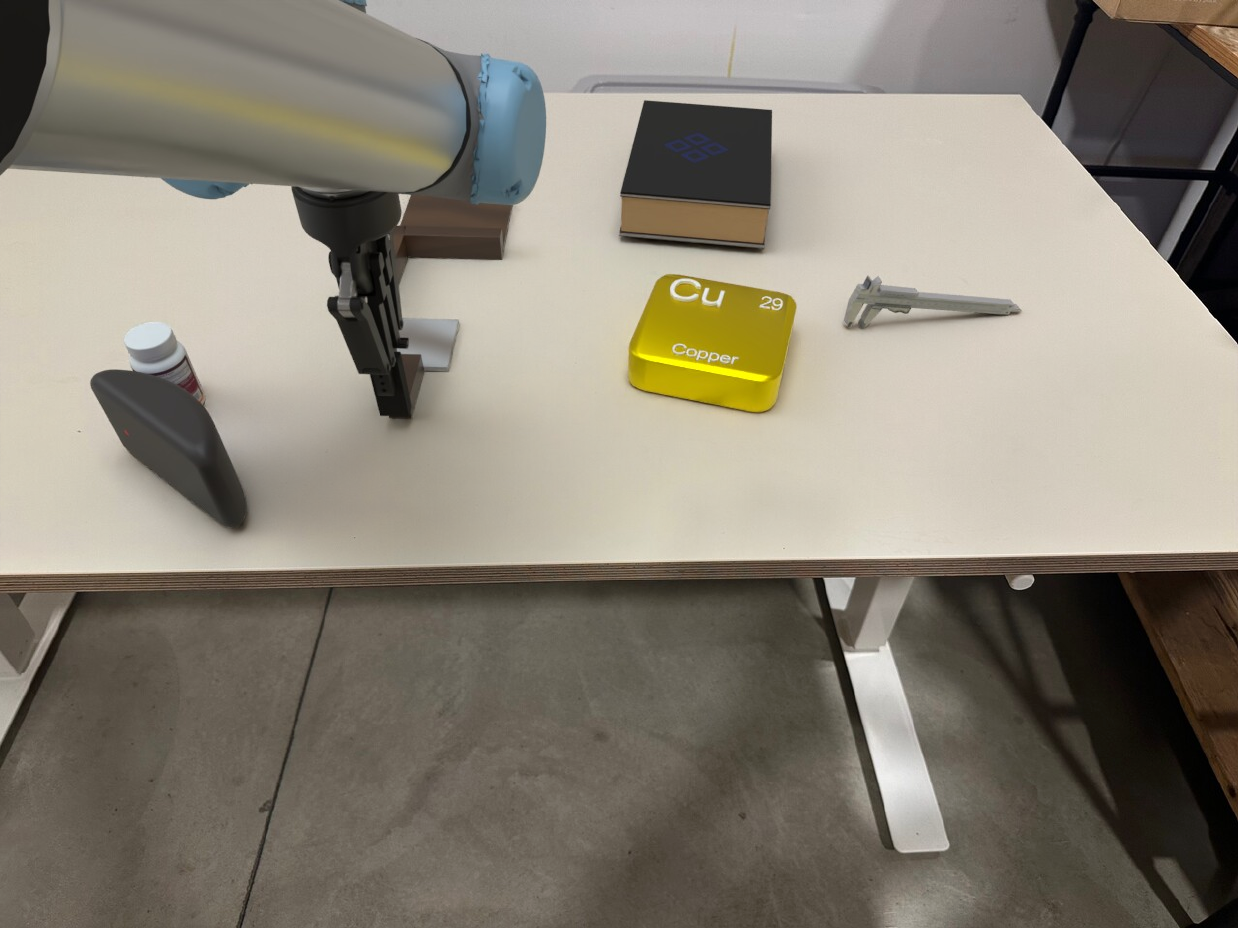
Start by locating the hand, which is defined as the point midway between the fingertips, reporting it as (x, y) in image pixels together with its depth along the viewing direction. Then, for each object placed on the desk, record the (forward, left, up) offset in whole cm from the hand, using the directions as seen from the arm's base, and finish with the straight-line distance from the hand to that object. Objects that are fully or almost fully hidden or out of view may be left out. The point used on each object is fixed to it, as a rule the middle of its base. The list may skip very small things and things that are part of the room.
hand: (396, 410), depth 80 cm
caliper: (+48, -32, -2) cm, 58 cm away
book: (+53, +3, -2) cm, 53 cm away
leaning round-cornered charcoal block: (-17, +8, -2) cm, 19 cm away
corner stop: (+24, +19, -2) cm, 31 cm away
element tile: (+27, -17, -2) cm, 32 cm away
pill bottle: (-12, +18, -2) cm, 21 cm away
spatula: (+7, +5, -2) cm, 9 cm away
